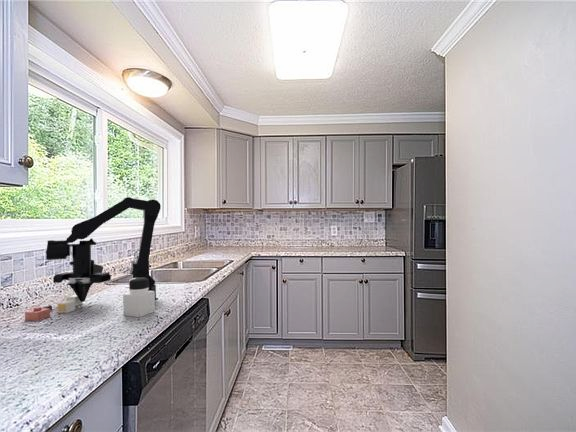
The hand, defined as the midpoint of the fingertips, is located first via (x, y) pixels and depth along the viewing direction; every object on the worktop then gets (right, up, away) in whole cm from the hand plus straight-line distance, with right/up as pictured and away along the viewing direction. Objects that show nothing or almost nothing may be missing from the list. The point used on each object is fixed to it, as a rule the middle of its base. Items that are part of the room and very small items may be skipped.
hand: (82, 301), depth 122 cm
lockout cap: (-5, -3, -15) cm, 16 cm away
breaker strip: (-3, -3, -3) cm, 5 cm away
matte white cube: (-1, -1, -7) cm, 8 cm away
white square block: (-4, -1, +1) cm, 4 cm away
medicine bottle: (+23, -3, -7) cm, 25 cm away
